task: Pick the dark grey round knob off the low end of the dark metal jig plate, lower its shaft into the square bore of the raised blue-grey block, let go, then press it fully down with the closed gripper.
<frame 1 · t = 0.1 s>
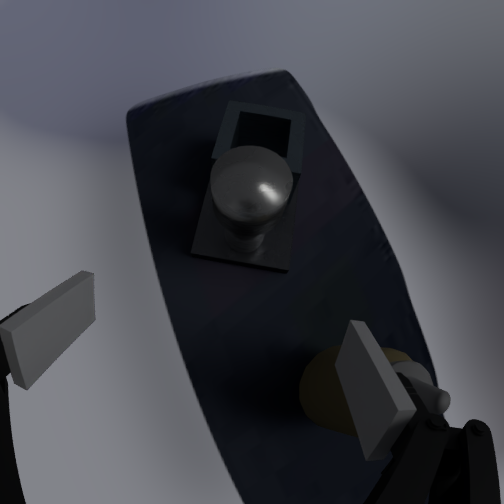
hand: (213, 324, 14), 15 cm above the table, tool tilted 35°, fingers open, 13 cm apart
squeeze bottle: (328, 385, 28), on the table
jig: (251, 199, 34), on the table
dark grey round knob: (244, 234, 31), point 1 cm above the table, touching jig
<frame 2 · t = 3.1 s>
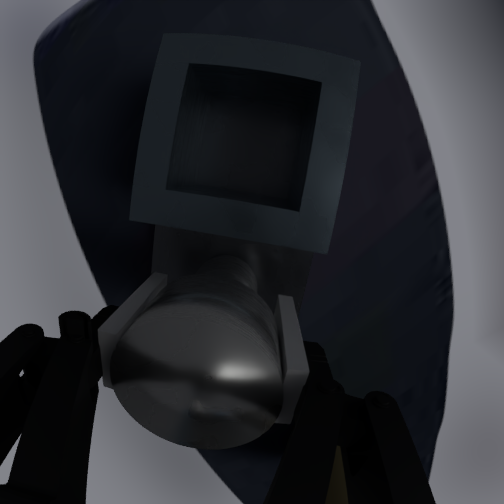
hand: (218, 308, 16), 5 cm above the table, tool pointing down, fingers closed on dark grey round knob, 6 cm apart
squeeze bottle: (324, 432, 24), on the table
jig: (239, 205, 19), on the table
dark grey round knob: (225, 285, 19), point 1 cm above the table, touching gripper, jig
when the fingers open (8 cm above the table, at t = 8.0 s): dark grey round knob drops 3 cm, resting on jig.
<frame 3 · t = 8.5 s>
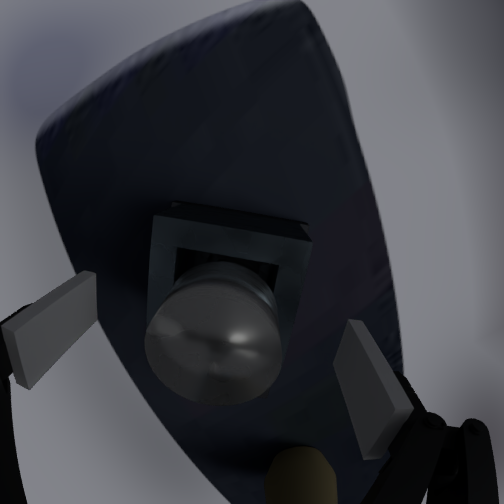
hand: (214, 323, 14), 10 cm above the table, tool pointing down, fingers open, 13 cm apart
squeeze bottle: (297, 457, 30), on the table
jig: (225, 308, 25), on the table
dark grey round knob: (231, 270, 22), point 1 cm above the table, touching jig
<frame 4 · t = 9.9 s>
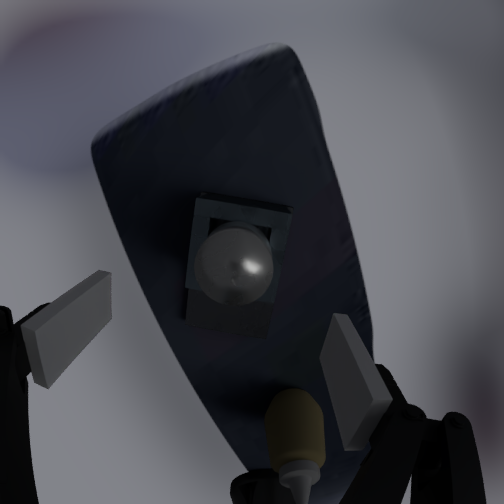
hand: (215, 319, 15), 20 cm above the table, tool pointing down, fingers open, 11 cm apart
squeeze bottle: (291, 401, 40), on the table
jig: (236, 267, 35), on the table
dark grey round knob: (241, 238, 33), point 1 cm above the table, touching jig
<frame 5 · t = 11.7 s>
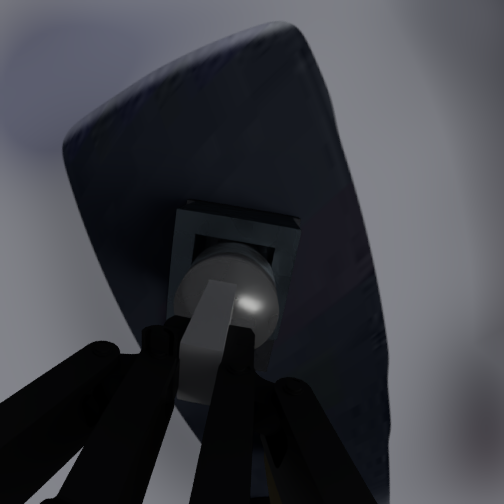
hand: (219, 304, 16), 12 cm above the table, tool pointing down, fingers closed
squeeze bottle: (294, 433, 34), on the table
jig: (230, 290, 29), on the table
dark grey round knob: (236, 257, 27), point 1 cm above the table, touching gripper, jig
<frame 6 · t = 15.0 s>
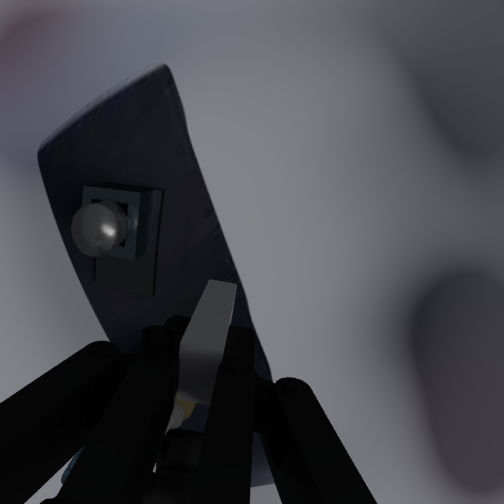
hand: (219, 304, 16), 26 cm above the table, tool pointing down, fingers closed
squeeze bottle: (186, 359, 48), on the table
jig: (128, 239, 43), on the table
dark grey round knob: (127, 215, 41), point 1 cm above the table, touching jig
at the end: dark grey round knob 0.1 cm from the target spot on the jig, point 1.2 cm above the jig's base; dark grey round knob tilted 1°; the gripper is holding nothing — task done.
